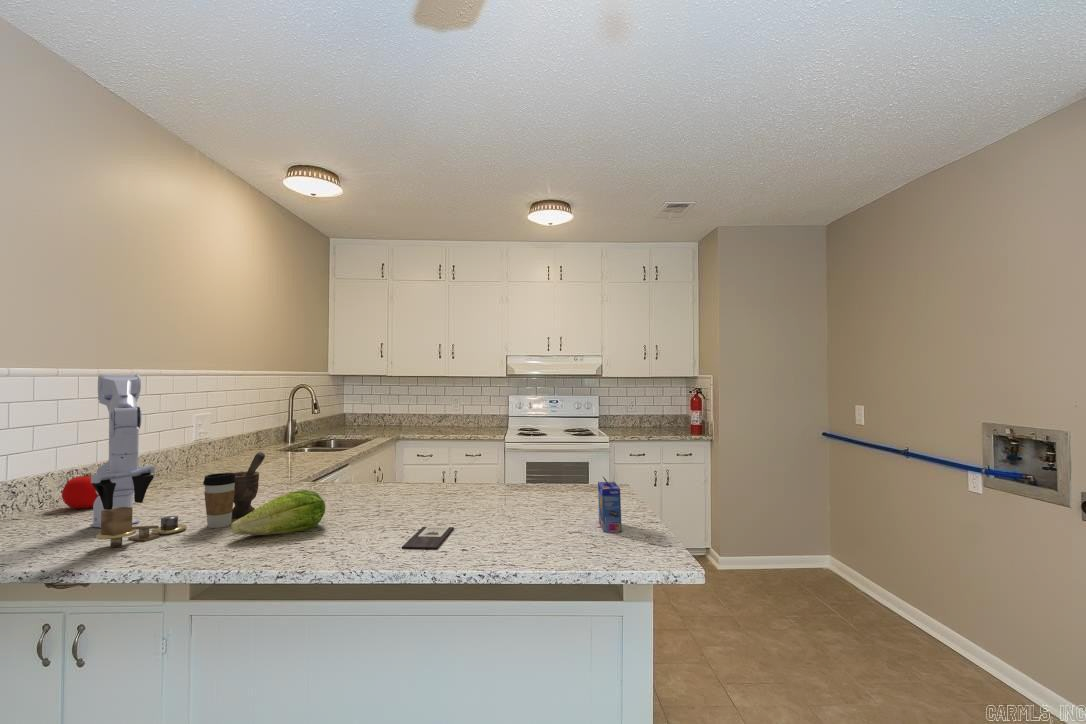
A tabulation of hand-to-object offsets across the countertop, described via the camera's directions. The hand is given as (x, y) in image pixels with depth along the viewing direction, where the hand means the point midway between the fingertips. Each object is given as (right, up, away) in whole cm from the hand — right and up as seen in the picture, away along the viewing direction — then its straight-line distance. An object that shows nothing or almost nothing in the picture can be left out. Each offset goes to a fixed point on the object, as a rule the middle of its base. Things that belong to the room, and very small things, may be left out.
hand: (123, 505), depth 140 cm
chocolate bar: (+79, -11, +4) cm, 80 cm away
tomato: (-42, -11, +39) cm, 58 cm away
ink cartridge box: (+129, -10, +14) cm, 130 cm away
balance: (+2, -10, +4) cm, 11 cm away
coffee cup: (+15, -10, +17) cm, 25 cm away
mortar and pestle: (+17, -11, +28) cm, 34 cm away
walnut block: (0, -6, -2) cm, 7 cm away
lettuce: (+36, -10, +10) cm, 38 cm away
